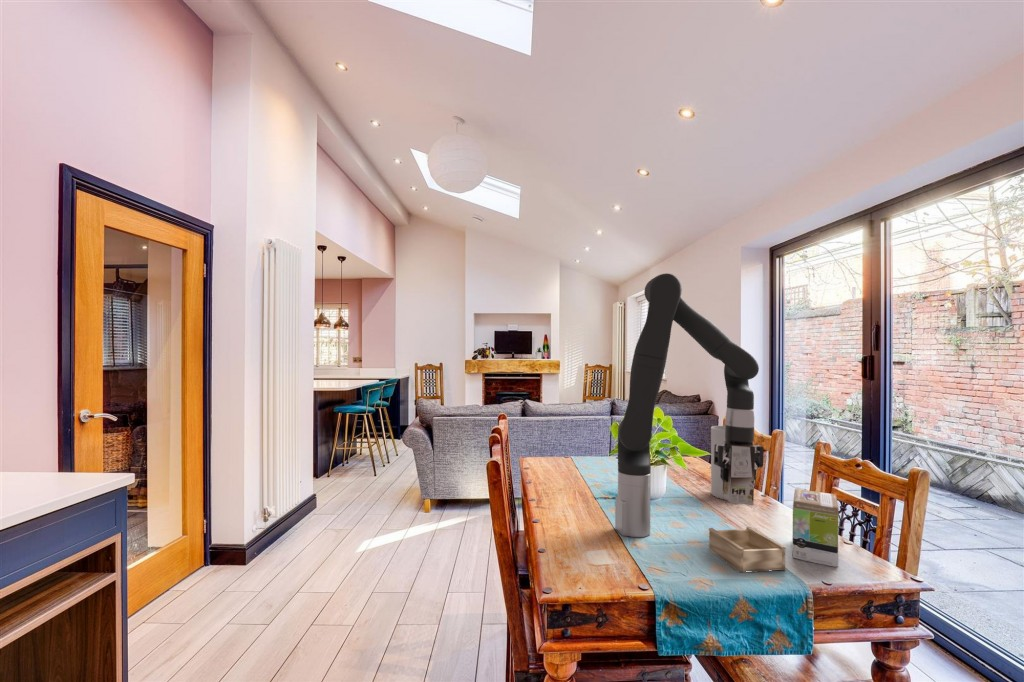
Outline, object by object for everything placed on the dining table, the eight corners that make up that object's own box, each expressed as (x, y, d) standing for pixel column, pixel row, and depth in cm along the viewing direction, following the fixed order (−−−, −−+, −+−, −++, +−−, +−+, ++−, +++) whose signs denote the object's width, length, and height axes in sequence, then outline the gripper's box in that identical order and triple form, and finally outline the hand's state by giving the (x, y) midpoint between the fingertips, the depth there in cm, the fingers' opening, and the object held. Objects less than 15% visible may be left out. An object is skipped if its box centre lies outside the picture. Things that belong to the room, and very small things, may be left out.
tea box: (839, 568, 116) (839, 507, 117) (791, 559, 121) (791, 500, 122) (836, 548, 129) (836, 492, 129) (793, 540, 134) (793, 487, 135)
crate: (739, 572, 113) (739, 548, 113) (708, 549, 127) (708, 528, 127) (785, 570, 114) (785, 547, 115) (749, 547, 128) (749, 526, 128)
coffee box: (754, 505, 132) (756, 446, 132) (729, 503, 133) (731, 445, 134) (744, 496, 141) (746, 441, 141) (721, 494, 142) (723, 439, 142)
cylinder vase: (715, 489, 184) (715, 424, 185) (751, 495, 177) (751, 428, 178) (707, 497, 174) (707, 428, 175) (744, 504, 167) (744, 432, 168)
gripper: (723, 425, 133) (722, 485, 132) (771, 426, 135) (769, 485, 134) (709, 421, 140) (707, 478, 140) (754, 422, 142) (752, 478, 142)
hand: (738, 481), depth 137 cm, fingers closed on coffee box, 7 cm apart
